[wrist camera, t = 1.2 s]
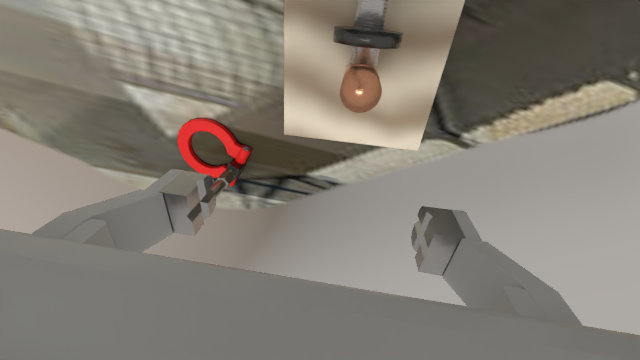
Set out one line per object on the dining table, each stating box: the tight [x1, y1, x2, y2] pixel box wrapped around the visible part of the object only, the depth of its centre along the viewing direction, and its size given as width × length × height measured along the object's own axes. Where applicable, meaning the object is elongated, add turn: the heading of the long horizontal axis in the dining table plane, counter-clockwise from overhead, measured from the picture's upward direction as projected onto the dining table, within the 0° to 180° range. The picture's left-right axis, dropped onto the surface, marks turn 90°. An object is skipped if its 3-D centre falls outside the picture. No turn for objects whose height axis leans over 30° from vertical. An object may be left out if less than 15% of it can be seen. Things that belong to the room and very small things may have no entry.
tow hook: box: [178, 118, 251, 197], centre depth 31 cm, size 8×13×9 cm
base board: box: [284, 0, 465, 151], centre depth 25 cm, size 24×16×1 cm, turn 176°
